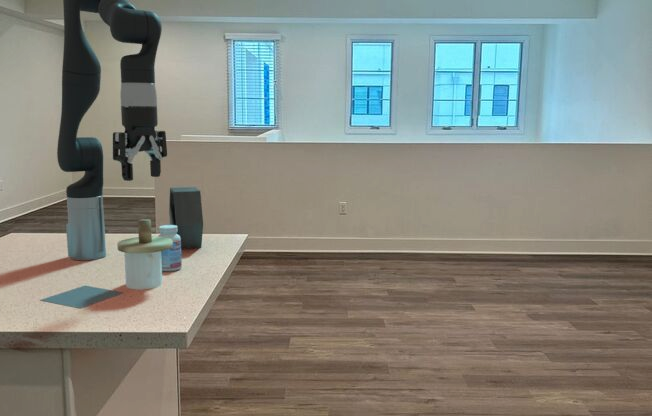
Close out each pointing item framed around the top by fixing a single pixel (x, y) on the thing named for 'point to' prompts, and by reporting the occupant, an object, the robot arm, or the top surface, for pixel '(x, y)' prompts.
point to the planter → (187, 215)
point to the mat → (82, 296)
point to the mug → (143, 270)
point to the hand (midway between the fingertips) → (142, 178)
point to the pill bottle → (171, 249)
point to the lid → (145, 241)
